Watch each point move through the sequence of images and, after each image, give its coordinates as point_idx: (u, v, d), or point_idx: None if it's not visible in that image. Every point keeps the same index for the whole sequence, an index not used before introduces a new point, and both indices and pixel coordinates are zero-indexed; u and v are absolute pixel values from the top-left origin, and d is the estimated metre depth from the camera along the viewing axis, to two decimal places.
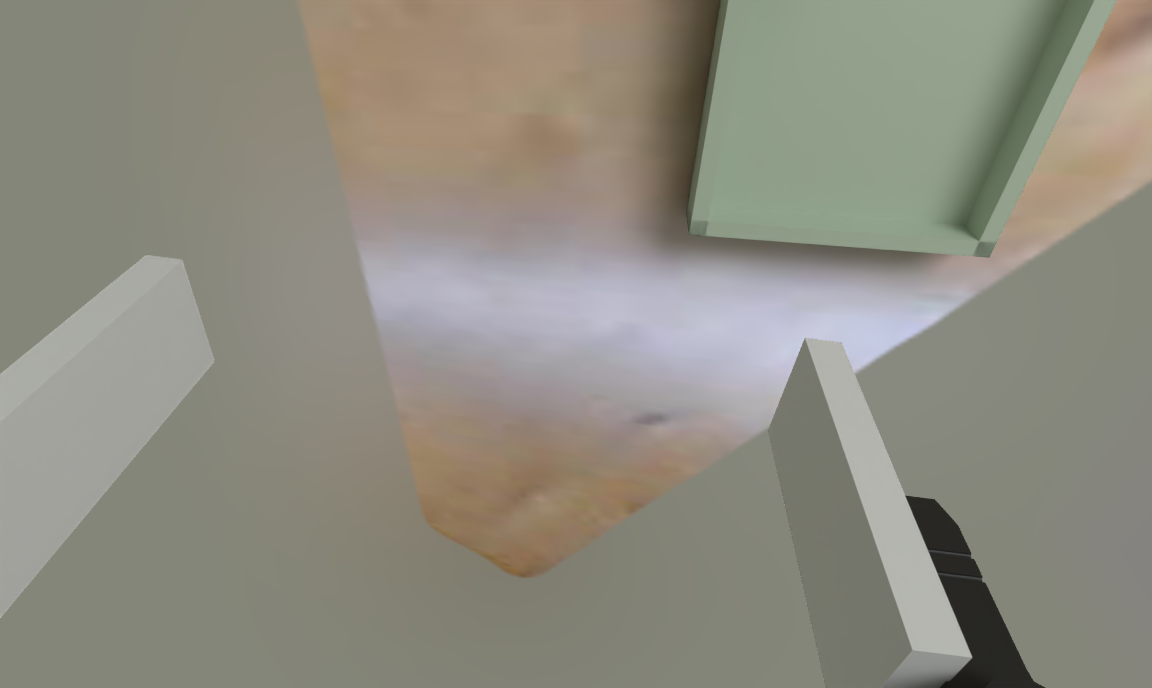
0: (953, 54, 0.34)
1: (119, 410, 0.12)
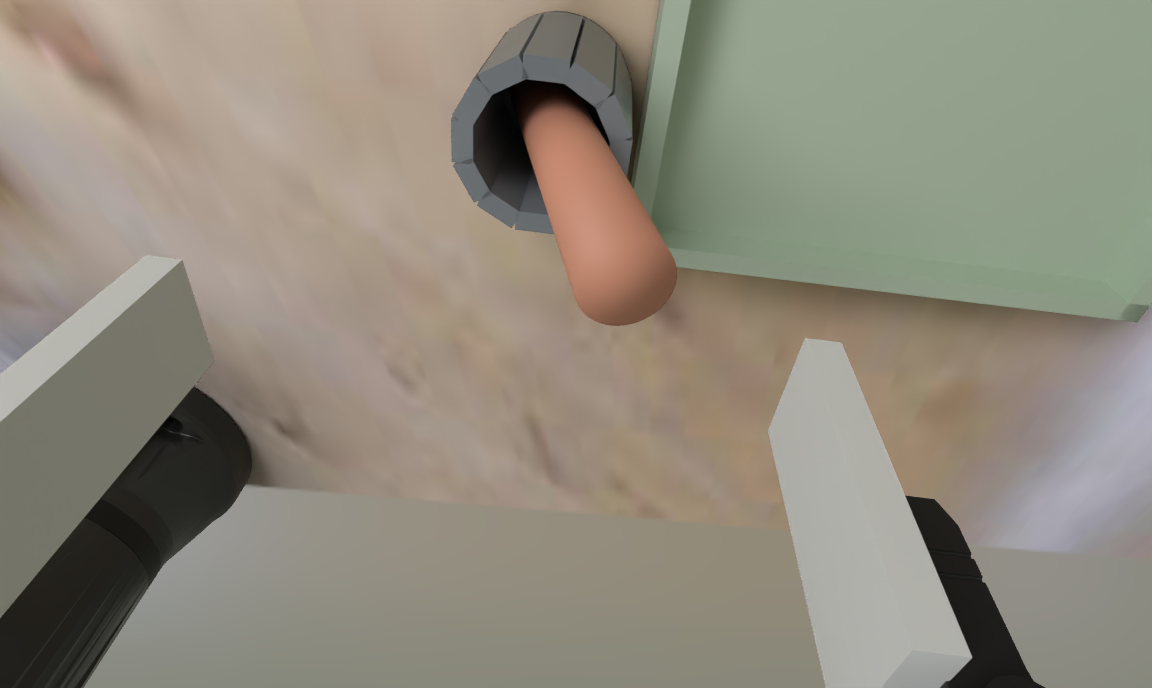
0: (1040, 13, 0.26)
1: (119, 410, 0.12)
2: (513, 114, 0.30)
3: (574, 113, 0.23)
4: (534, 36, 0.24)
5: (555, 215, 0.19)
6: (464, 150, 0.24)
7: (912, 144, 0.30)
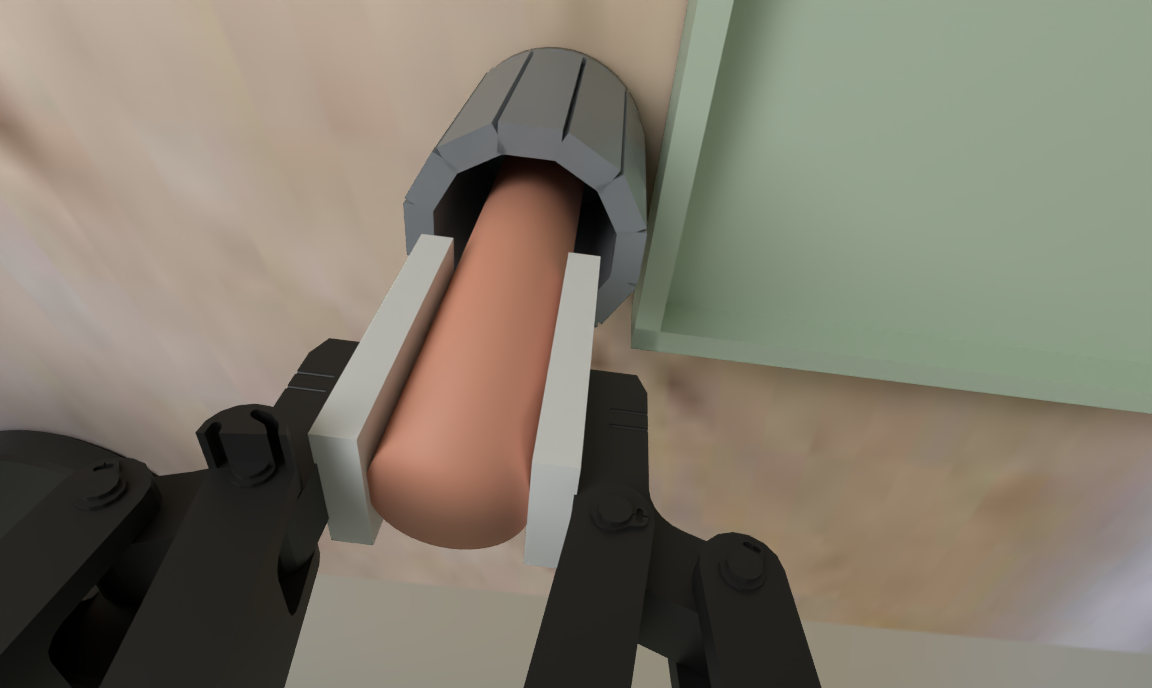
0: None
1: None
2: (496, 172, 0.24)
3: (533, 193, 0.17)
4: (516, 90, 0.18)
5: None
6: None
7: (997, 214, 0.24)
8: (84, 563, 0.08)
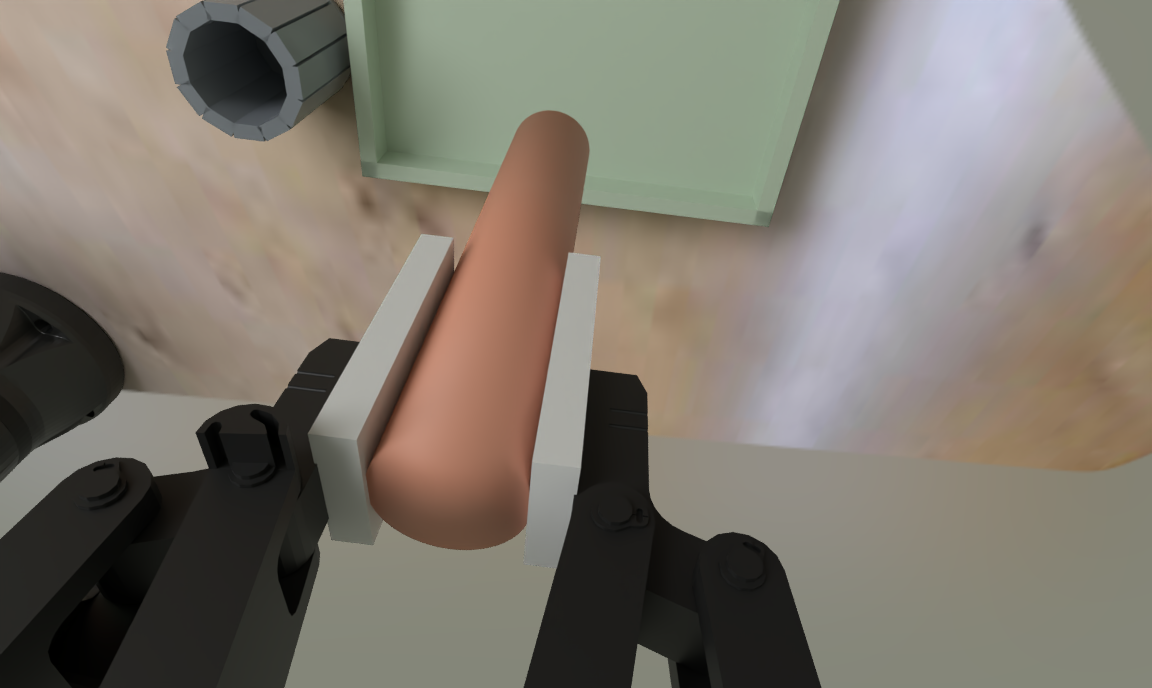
0: None
1: None
2: (267, 59, 0.39)
3: (533, 192, 0.17)
4: None
5: None
6: (181, 74, 0.33)
7: (571, 82, 0.38)
8: (84, 563, 0.08)
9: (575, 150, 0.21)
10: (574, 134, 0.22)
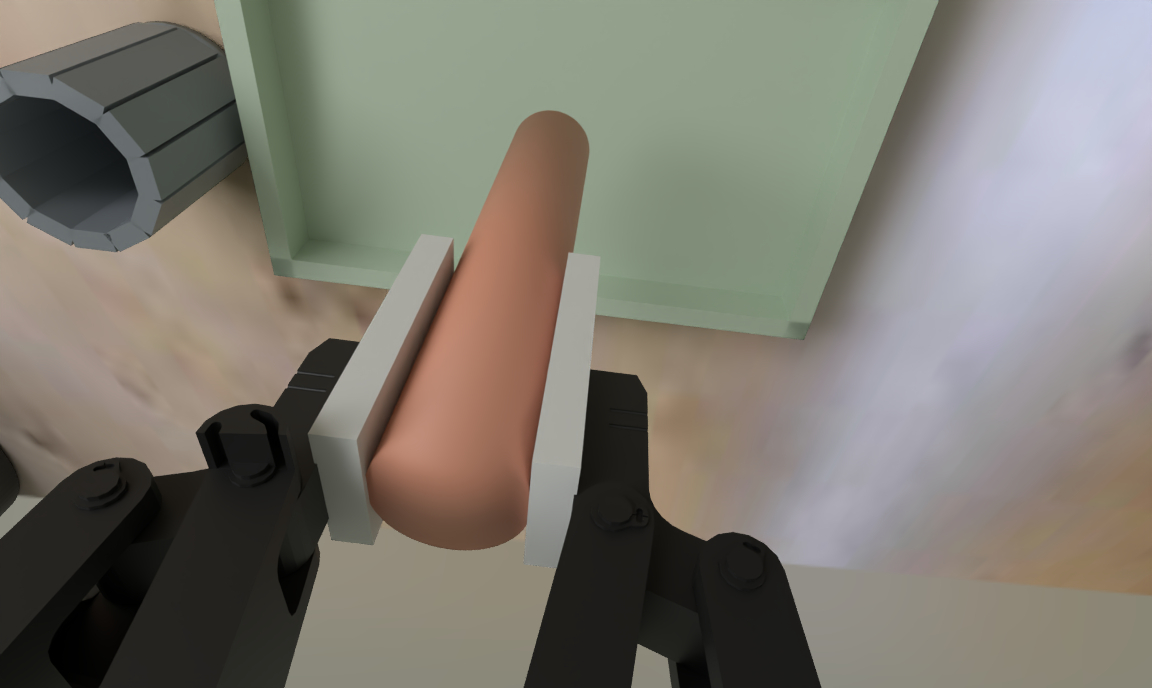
0: (625, 24, 0.25)
1: None
2: None
3: (533, 192, 0.17)
4: (59, 49, 0.23)
5: None
6: None
7: None
8: (84, 563, 0.08)
9: (575, 150, 0.21)
10: (574, 134, 0.22)
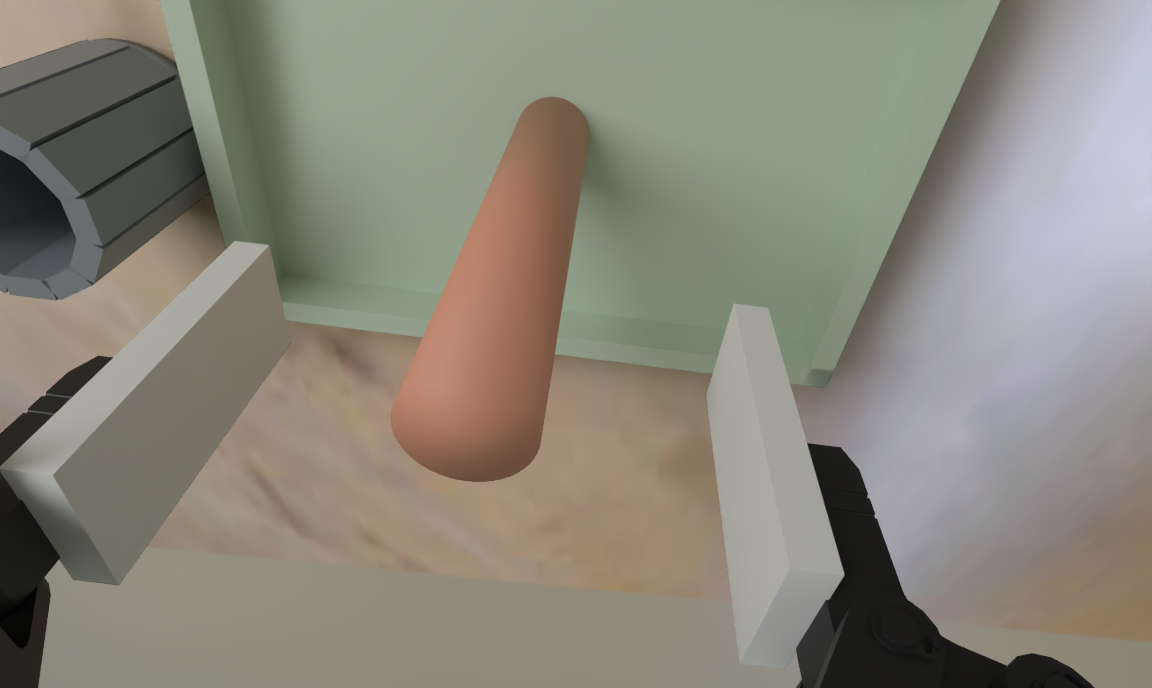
0: (630, 44, 0.22)
1: (219, 385, 0.13)
2: None
3: (538, 169, 0.18)
4: None
5: None
6: None
7: None
8: None
9: (576, 133, 0.22)
10: (575, 119, 0.23)
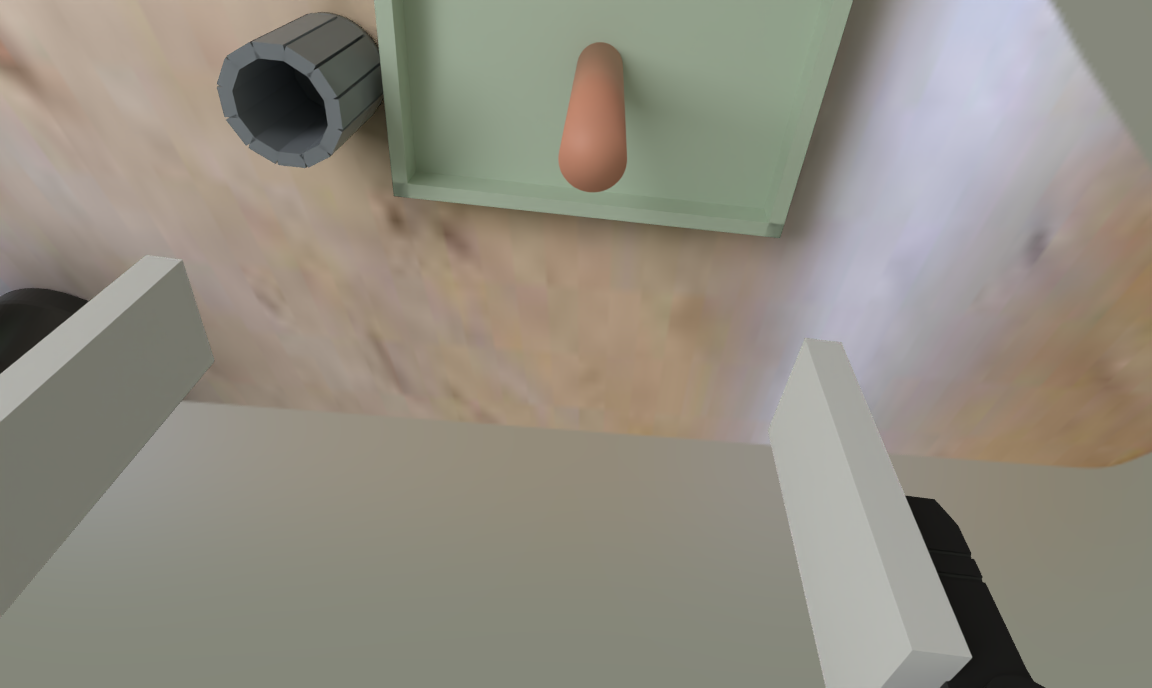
0: (648, 7, 0.37)
1: (119, 410, 0.12)
2: (304, 88, 0.42)
3: (603, 70, 0.33)
4: (276, 30, 0.35)
5: None
6: (230, 108, 0.35)
7: None
8: None
9: (617, 60, 0.37)
10: (616, 53, 0.37)
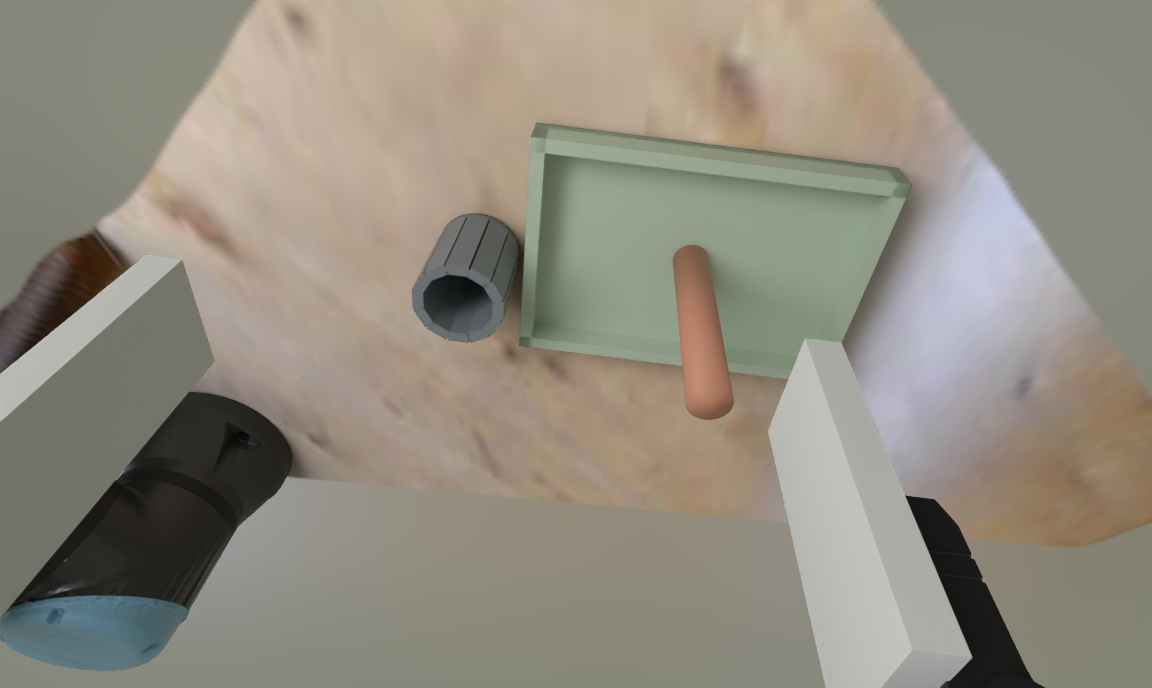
0: (732, 223, 0.48)
1: (119, 410, 0.12)
2: None
3: (704, 296, 0.44)
4: (455, 245, 0.46)
5: (684, 360, 0.41)
6: (419, 303, 0.46)
7: None
8: None
9: (708, 268, 0.48)
10: (706, 258, 0.49)
